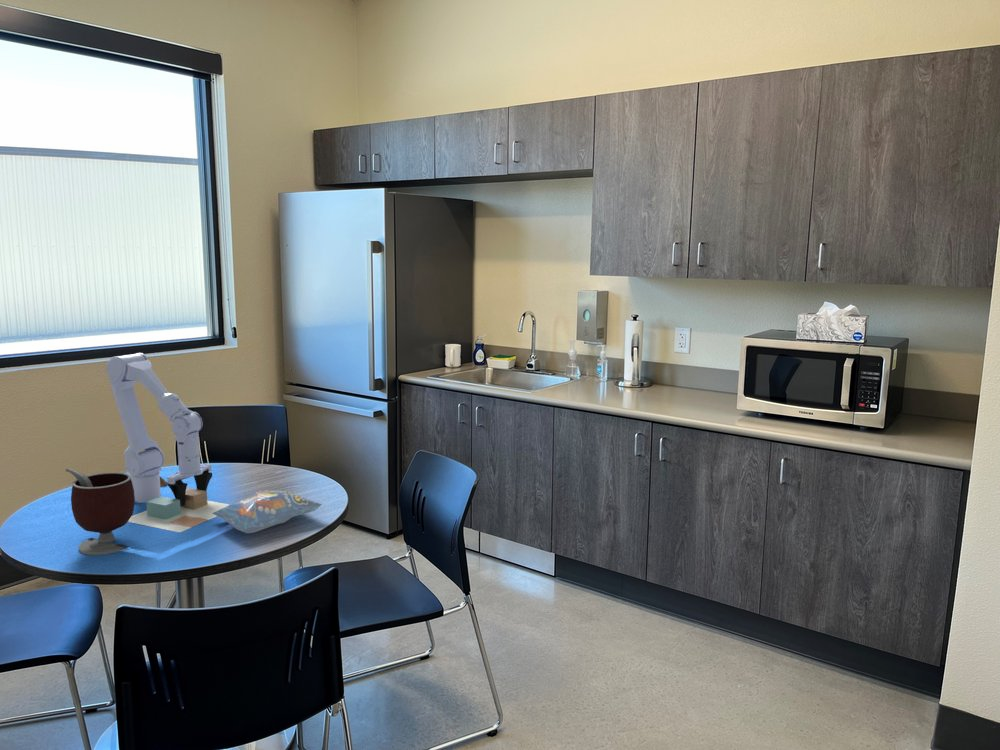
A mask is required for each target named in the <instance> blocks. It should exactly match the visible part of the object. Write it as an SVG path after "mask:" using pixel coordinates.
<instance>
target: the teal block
mask: <svg viewBox="0 0 1000 750" xmlns="http://www.w3.org/2000/svg"><path fill="white" fill-rule="evenodd" d="M145 504H146V510H147V516H151V517H156V518H161V519H169V518H171V517H174V516H176V515H179V514H181V512H180V500H178V499H175V498H172V497H166V496H161V497H158V498H155V499H153V500H150V501H147V502H146V503H145Z"/></svg>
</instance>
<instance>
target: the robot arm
mask: <svg viewBox="0 0 1000 750" xmlns="http://www.w3.org/2000/svg"><path fill="white" fill-rule="evenodd" d="M152 366H153V364H152V362H151V360H149V359H148V356H147V355H145V354H144V353H143V352H136V353H133V354H132V353H130V354H124V355H117V356H116V355H115V356H112V357H111V358H110V359H109V360H108V362H107V364H106V367H105V369H106V372H107V373H106V374H107V375H108V378H109V381H110V388H111V391H112V393H113V397H114V400H115V404H116V407H117V411H118V413H119V415H120V419H121V422H122V425H123V429H124V432H125V435H126V438H127V441H128V446H127V448H126V449H125V450H124V452H123V456H124V466H125V469H126V471H127V472H128V473H127V474H129V475H130V476H131V481H132V484H133V488H134V496H135V503H138V504H139V503H140V504H141V503H142V504H143V503H145V504H146V502H147V501H150V500H153V499H155V498H158V497H162V493H161V487H160V477H161V476H160V475H161V474H160V471H162V467H163V466H164V464H165V462H166V457H165V454H164V452H163V451H162V449H161V448H160V446H159V443H158V442H157V441H155V440H154V439H152V438H150V437H149V436H150V435H149V433H148V430H147V426H146V424H145V421H144V417H143V414H142V411H141V408H140V405H139V402H138V398H137V395H136V392H135V389H134V387H135V386H136V383H137V382H139V383H141V384H142V386H144V387H145V388H146V389H147V391H149V392H150V394H152V396H154V397H155V399H156V400H157V401H158V402H157V407H158V409H160V411H161V412H162V413H163V415H165V416H166V418H167V420H168V421H170V422H171V425H170V429H171V431H172V433H173V434H174V436H175V437H174V438H175V441H176V442H177V443H176V444H177V445H176V446H177V459H178V461H177V463H178V471H176V472H174V473H172V474H171V475H168V476H167V477H166V478H167V479H166V480H167V481H166V482H167V485H166V486H167V487H168V488H169V489H170V491H171V492H172V494H173V496H174V499H178V500H180V506H185V493H186V488H188V483H187V482H184V480H187V479H190V478H191V477H193V478H194V481H195V485H196V489H198V490H204V491H207V490H208V486H209V483H210V481H211V479H212V477H213V473H212V472H211V471H212V464H210V463H204V464H201V455H200V453H201V451H200V436H199V432H200V431H201V430H202V428H203V425H204V424H203V423H204V422H203V418H202V416H200V414H199V413H198V412H197V411H193V410H191V409H189V408H188V407H187V405H185V404H184V403H183V401H182V400H181V398H180V396H179V395H177V394H176V393H171V392H169V391H168V390H167V388H166V387H165V386H164V384H163V383H162V382H161V380H160V379H159V378H158V376H157V374H156V373H155V372H154V370H153V369H152V368H153V367H152Z"/></svg>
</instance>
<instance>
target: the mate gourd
mask: <svg viewBox="0 0 1000 750" xmlns="http://www.w3.org/2000/svg"><path fill="white" fill-rule="evenodd" d="M65 472H68V473H70V474H71V475H73V477H75V478H76V479H74V480H73V482H71V483H72V488H71V493H70V495H71V496H70V503H71V511H72V512H71V513H72V515H73V519H74V521H75V523H76V524H77V525H78V526H79V527H80V528H81V529H82V530H84V531H86V532H91V533H98V534H99V536H98V538H92V537H91V538H87V539H86V540H84V541H81V543H79V545H78V551H79V552H80V554H84V555H89V556H101V555H108V554H109V555H110V554H114V553H117V552H121V551H124V550H126V549H127V548H129V547H130V546H127V545H123V544H120V543H115V542H114V541H115V538H116V536H115V534H114V532H113V531H115V530H117V529H120V528H121V527H123V526H126V524H127V523H129V522H128V520H129V519H130V518H131V516H133V514H134V511H135V510H134V509H135V503H136V502H135V496H134V488H133V484H132V481H131V476H130V475H129V473H125V472H119V471H118V472H116V471H115V472H114V471H113V472H111V471H110V472H101V473H100V472H99V473H93V474H90V475H85V474H84V473H82V472H79V471H77V470H74V469H72V468H68V467H66V468H65Z"/></svg>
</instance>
